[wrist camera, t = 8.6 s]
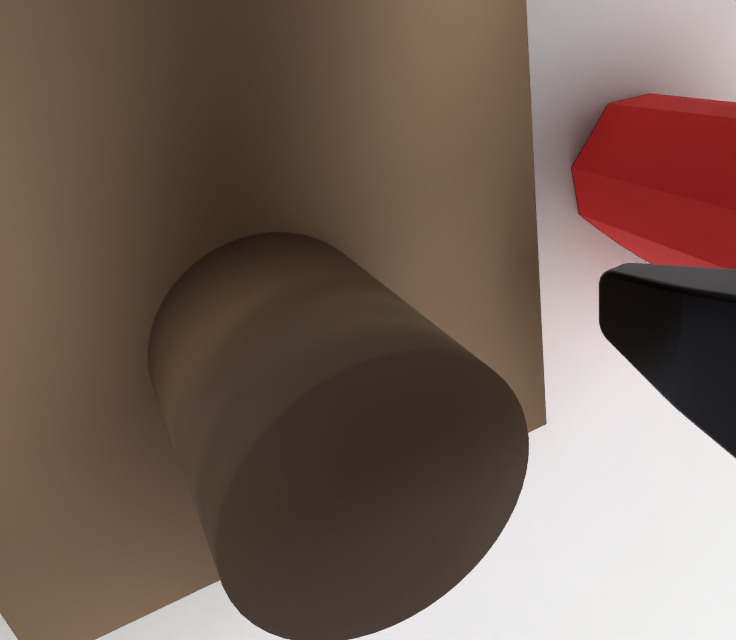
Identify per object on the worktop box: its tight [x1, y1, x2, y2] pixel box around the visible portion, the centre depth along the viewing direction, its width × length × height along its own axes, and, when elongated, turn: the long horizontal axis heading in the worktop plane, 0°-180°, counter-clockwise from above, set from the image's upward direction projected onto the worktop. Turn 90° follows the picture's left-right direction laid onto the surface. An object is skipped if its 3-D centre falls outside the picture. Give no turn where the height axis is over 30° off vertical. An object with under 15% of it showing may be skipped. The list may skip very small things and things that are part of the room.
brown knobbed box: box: [0, 0, 546, 640], centre depth 11 cm, size 10×10×10 cm
